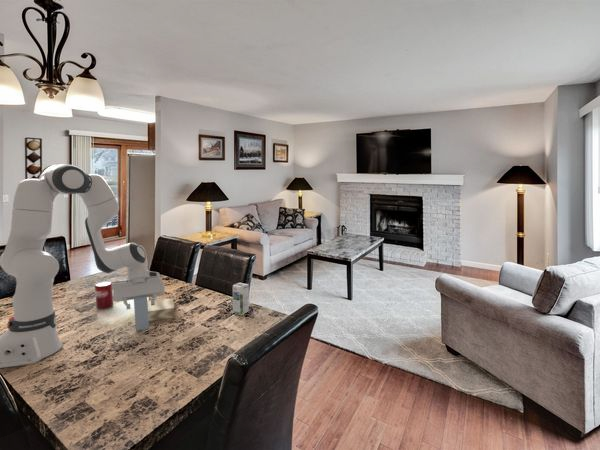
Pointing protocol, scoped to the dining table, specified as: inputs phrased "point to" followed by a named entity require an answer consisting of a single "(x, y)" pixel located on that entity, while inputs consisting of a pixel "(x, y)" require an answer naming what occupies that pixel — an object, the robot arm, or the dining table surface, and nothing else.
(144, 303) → the slate block
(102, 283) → the soda can
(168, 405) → the dining table surface
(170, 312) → the birch block
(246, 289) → the syrup box
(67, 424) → the dining table surface
